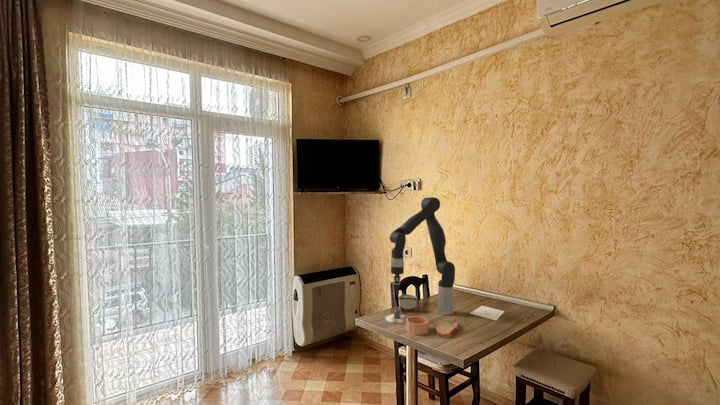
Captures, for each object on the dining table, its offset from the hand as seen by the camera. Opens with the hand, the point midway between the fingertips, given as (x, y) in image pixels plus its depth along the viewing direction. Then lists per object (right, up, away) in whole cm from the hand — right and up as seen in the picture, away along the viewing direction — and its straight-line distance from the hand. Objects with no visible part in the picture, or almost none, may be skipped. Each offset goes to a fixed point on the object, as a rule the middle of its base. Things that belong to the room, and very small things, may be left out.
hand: (397, 292), depth 195 cm
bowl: (+9, -17, -16) cm, 25 cm away
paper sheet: (+64, -18, +10) cm, 68 cm away
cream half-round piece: (+9, -17, +16) cm, 25 cm away
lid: (0, -16, 0) cm, 16 cm away
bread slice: (+27, -18, -15) cm, 35 cm away
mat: (0, -17, 0) cm, 17 cm away
